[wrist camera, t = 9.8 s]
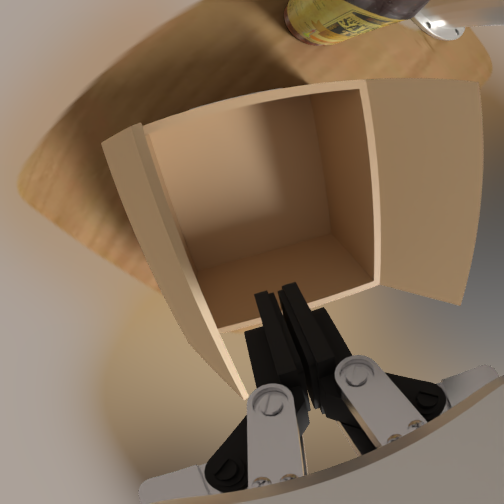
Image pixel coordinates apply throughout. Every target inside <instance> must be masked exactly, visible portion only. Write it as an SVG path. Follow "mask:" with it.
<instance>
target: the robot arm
mask: <svg viewBox="0 0 504 504" xmlns="http://www.w3.org/2000/svg"><path fill="white" fill-rule="evenodd" d="M411 20H412V21H413V22H414V23H415V24H416V25H417V26H418V27H419V28H420V29H421V30H423V31H424V32H426V33H427V34H428V35H430V36H432V37H434V38H437V39H440V40H447V41H448V40H455V39H457V38H459V37H460V36H461V35H462V34H463V32H464V30H465V27H472V26H491V25H504V0H430V1H429V2H428V3H427V4H426V5H425V6H424V7H423V8H422V9H421V10H420V11H419V12H418V13H417V14H416V15H415V16H414V17H413V18H411ZM278 296H279V300H280V305H281V309H282V312H281V309H280V307H279V304H278V302H277V299H276V297H275V294H274V292H272V293H269V294H268V291H267V290H266V291H263V292H259V293H256V294H254V297H255V300H256V304H257V307H258V310H259V314H260V317H261V321H262V324H263V326H262V327H259V328H256V329H252V330H249V331H245V332H244V334H245V339H246V343H247V347H248V352H249V357H250V361H251V365H252V370H253V374H254V378H255V382H256V387H257V389H255V390H254V391H253V392H252V393H251V395H250V397H249V398H248V402H247V415H246V416H245V418H244V419H243V420H242V421H241V423H240V424H239V425H238V426H237V427H236V429H235V430H234V431H233V432H232V434H231V435H230V436H229V437H228V438H227V440H226V441H225V442H224V443H223V444H222V446H221V447H220V448H219V449H218V450H217V451H216V452H215V454H214V455H213V456H212V457H211V458H210V459H209V461H208V462H207V463H206V464H203V465H200V466H197V465H194V466H191V467H188V468H185V469H182V470H178V471H175V472H172V473H169V474H165V475H161V476H158V477H154V478H150V479H148V480H146V481H144V482H143V483H142V485H141V486H140V488H139V498H140V502H141V504H504V375H502V376H500V377H499V375H498V373H497V371H496V370H495V369H494V368H492V367H491V366H488V365H481V366H478V367H476V368H474V369H471V370H468V371H465V372H463V373H461V374H458V375H455V376H452V377H449V378H446V379H443V380H441V382H440V383H438V384H434V383H431V382H426V381H421V380H416V379H412V378H407V377H403V376H398V375H394V374H389V373H385V372H384V371H383V370H382V369H381V368H380V367H379V366H378V365H377V363H376V362H375V361H373V360H372V359H371V358H369V357H366V356H361V355H355V356H352V354H351V352H350V351H349V349H348V347H347V345H346V344H345V342H344V340H343V338H342V337H341V335H340V333H339V331H338V330H337V328H336V326H335V324H334V323H333V321H332V319H331V318H330V316H329V314H328V313H327V311H326V309H325V308H324V307H323V308H320V309H317V310H314V311H311V310H310V308H309V306H308V304H307V302H306V300H305V298H304V297H303V295H302V293H301V291H300V289H299V287H298V285H297V283H296V282H292V283H289V284H286V285H283V286H282V290H279V291H278ZM282 313H283V314H282ZM307 390H308V392H307ZM308 393H309V396H310V398H311V401H312V404H313V406H314V408H315V409H317V408H320V410H321V412H322V414H326V417H327V418H330V419H333V420H336V422H337V424H338V426H339V428H340V429H341V430H342V432H343V434H344V435H345V437H346V438H347V440H348V442H349V443H350V445H351V446H352V448H353V449H354V451H355V452H356V454H357V455H358V457H357V458H355V459H352V460H350V461H347V462H344V463H341V464H339V465H336V466H333V467H331V468H328V469H325V470H321V471H318V472H315V473H312V474H309V475H308V470H307V462H306V455H305V448H304V440H303V433H304V431H305V430H306V428H307V427H308V425H309V423H310V422H309V417H308V411H310V403H309V398H308Z"/></svg>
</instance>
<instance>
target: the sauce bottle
mask: <svg viewBox="0 0 504 504" xmlns="http://www.w3.org/2000/svg"><path fill="white" fill-rule="evenodd" d="M429 1H430V0H289V2H288V5H287V6H286V8H285V10H284V20H285V23H286V26H287V27H288V29H289V31H290V32H291V33H292V34H293V35H294V36H295V37H296V38H297V39H299V40H301V41H302V42H304V43H306V44H309V45H317V46H325V45H332V44H336V43H339V42H342V41H344V40H347V39H349V38H352V37H355V36H357V35H360V34H363V33H366V32H369V31H372V30H375V29H377V28H381V27H384V26H387V25H390V24H394V23H397V22H400V21H404V20H408V19H411V18H413V17H414V16H415V15H416V14H417V13H418V12H419V11H420V10H421V9H422V8H423V7H424V6H425V5H426V4H427V3H428V2H429Z"/></svg>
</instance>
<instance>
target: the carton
mask: <svg viewBox="0 0 504 504" xmlns="http://www.w3.org/2000/svg"><path fill="white" fill-rule="evenodd" d="M142 127H143V131H144V134H145V137H146V140H147V144H148V147H149V150H150V153H151V156H152V159H153V162H154V165H155V168H156V171H157V174H158V177H159V180H160V183H161V186H162V189H163V192H164V195H165V198H166V200H167V203H168V206H169V209H170V212H171V214H172V217H173V220H174V223H175V225H176V228H177V231H178V233H179V236H180V239H181V241H182V244H183V247H184V249H185V252H186V254H187V257H188V259H189V262H190V264H191V267H192V270H193V272H194V274H195V277H196V279H197V282H198V284H199V287H200V289H201V292H202V294H203V296H204V299H205V301H206V304H207V306H208V308H209V311H210V313H211V315H212V318H213V320H214V322H215V324H216V327H217V329H218V331H219V333H220V334H222V333H226V332H230V331H233V330H237V329H241V328H245V327H248V326H252V325H256V324H259V323H262V321H261V317H260V314H259V310H258V307H257V304H256V300H255V297H254V294H256V293H259V292H263V291H266V290H267V291H268V294H269V293H272V292H274V294H275V297H276V299H277V302H278V304H279V307H280V309H281V305H280V300H279V296H278V291H279V290H282V286H283V285H286V284H289V283H292V282H296V283H297V285H298V287H299V289H300V291H301V293H302V295H303V297H304V298H305V300H306V302H307V304H308V306H309V308H313V307H316V306H319V305H322V304H325V303H328V302H331V301H334V300H337V299H340V298H343V297H346V296H349V295H352V294H355V293H358V292H360V291H363V290H366V289H369V288H371V287H374V286H377V285H380V266H381V216H380V192H379V177H378V164H377V154H376V144H375V136H374V128H373V120H372V114H371V107H370V101H369V95H368V90H367V84H366V79H365V80H349V81H337V82H326V83H317V84H309V85H302V86H295V87H289V88H278V89H272V90H267V91H261V92H256V93H252V94H247V95H242V96H238V97H234V98H229V99H225V100H221V101H217V102H214V103H210V104H206V105H203V106H199V107H196V108H192V109H190V110H188V111H185V112H182V113H179V114H176V115H172V116H169V117H166V118H163V119H161V120H158V121H155V122H152V123H149V124H146V125H144V126H142ZM281 312H282V309H281ZM282 314H283V313H282Z"/></svg>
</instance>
